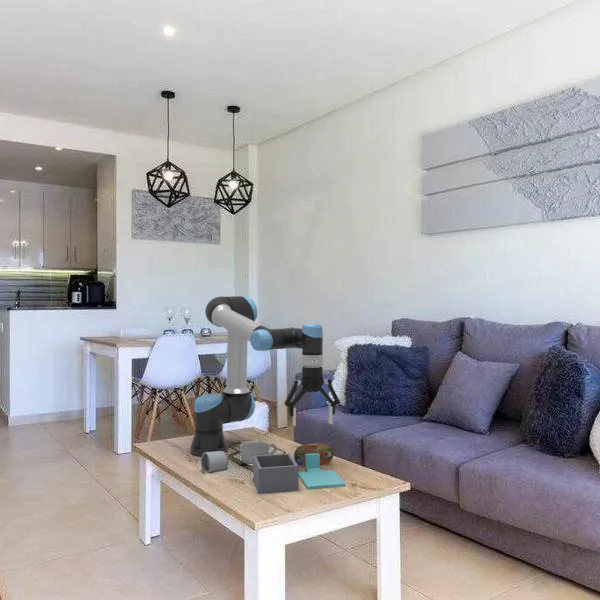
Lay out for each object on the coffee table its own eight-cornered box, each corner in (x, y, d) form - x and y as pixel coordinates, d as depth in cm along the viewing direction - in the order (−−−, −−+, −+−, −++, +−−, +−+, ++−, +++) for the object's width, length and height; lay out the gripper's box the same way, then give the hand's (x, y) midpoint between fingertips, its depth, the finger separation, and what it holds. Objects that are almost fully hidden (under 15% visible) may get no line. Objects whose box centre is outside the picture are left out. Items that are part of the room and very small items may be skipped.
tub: (253, 481, 190) (253, 455, 190) (290, 478, 193) (289, 453, 193) (258, 496, 176) (258, 468, 176) (298, 493, 178) (298, 466, 178)
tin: (295, 469, 205) (295, 446, 205) (293, 466, 208) (292, 444, 208) (333, 465, 209) (333, 443, 209) (330, 463, 212) (330, 441, 212)
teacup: (239, 468, 205) (239, 447, 205) (241, 460, 216) (241, 440, 216) (276, 468, 206) (276, 446, 206) (276, 459, 217) (276, 439, 217)
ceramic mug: (229, 472, 202) (229, 451, 202) (209, 476, 197) (209, 455, 197) (216, 465, 210) (216, 445, 210) (196, 469, 205) (196, 449, 205)
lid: (294, 473, 200) (294, 454, 200) (329, 471, 202) (328, 452, 202) (307, 493, 179) (307, 472, 179) (345, 490, 182) (345, 469, 182)
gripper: (280, 368, 194) (280, 428, 194) (348, 366, 199) (348, 425, 199) (276, 365, 201) (276, 423, 201) (342, 363, 206) (342, 420, 206)
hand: (312, 424), depth 200 cm, fingers open, 13 cm apart
